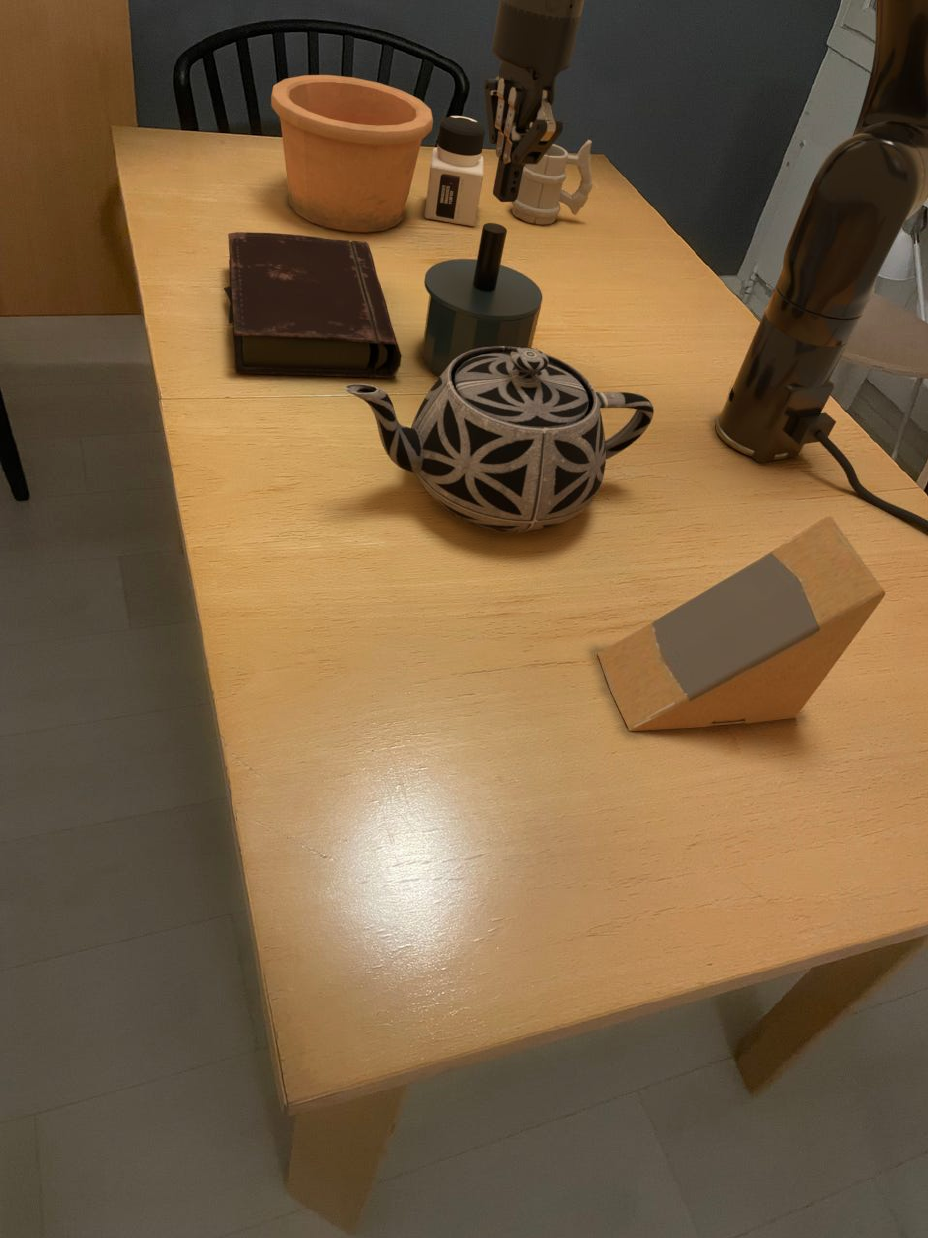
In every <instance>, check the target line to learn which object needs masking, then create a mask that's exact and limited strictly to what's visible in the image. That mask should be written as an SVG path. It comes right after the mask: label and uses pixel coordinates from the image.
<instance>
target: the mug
mask: <svg viewBox="0 0 928 1238" xmlns="http://www.w3.org/2000/svg"><path fill="white" fill-rule="evenodd" d="M592 144H593V142H592V140H591V139H588V140H586V141H585V143H584V144H583V145H582V146H581V147H580V148H579V150H578V152H577V154H576V155H574V154H569V152H568V151H567V150H566V149H564V147H562V146H560V145H557V144H554V143H553V144H552V146H551V147H550V148H549V150H548V151H547V152H546V154H545V155H544V156H543V157H542V159H541V160H540V161H539V163H538V164H526V165H525V166H524V169H523V173H522V178H521V183H520V188H519V193H518V197H517V200H516V201H514V202H511V205H512V208H511V212H512V214H513V216H515V217H516V218H518V219H520V220H522V221H523V222H526V223H528V224H532V225H534V224H535V225H540V226H543V225H544V226H545V225H551V224H553V223H555V222H556V218H557V216H558V215H559V213H560V211H561V204H560V203H562V204H564V205H566V206H567V207H568V208H569V209H570V212H571V213H572V214H573V215H574V216H577V215H578V214H579V211H580V210H581V208H583V207H584V205H586V203H587V201H588V199H589V194H590V192H591V190H592V188H593V179H592V177H593V175H592V166H591V148H592ZM567 165H572V166H577V169H578V171H579V174H580V181H579V186H578V189H576V191H575V192H574V193H572V194H570V193H569V192H567V191H565V190H564V189H562V188H563V183H564V182H565V181H566V178H567V172H566V168H567Z"/></svg>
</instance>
